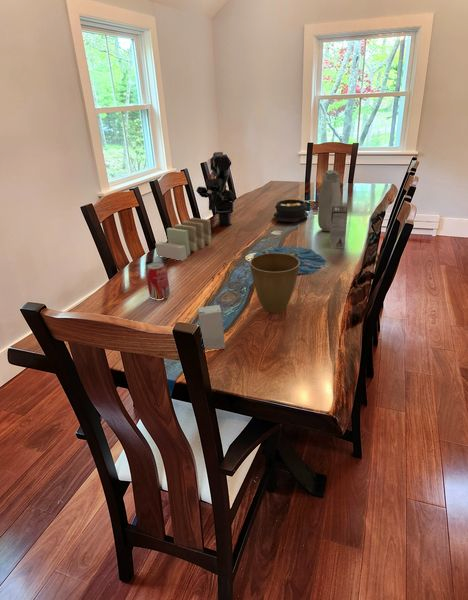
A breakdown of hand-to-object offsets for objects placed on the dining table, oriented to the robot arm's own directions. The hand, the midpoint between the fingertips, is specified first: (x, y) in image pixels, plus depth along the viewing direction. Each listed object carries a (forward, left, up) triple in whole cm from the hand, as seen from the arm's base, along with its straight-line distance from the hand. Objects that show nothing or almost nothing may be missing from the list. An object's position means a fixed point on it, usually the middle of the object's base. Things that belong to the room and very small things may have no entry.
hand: (209, 209), depth 188 cm
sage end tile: (+17, -18, -13) cm, 28 cm away
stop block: (+21, -21, -13) cm, 33 cm away
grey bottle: (+12, +55, -13) cm, 58 cm away
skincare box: (+94, -17, -13) cm, 96 cm away
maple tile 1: (+6, -6, -13) cm, 16 cm away
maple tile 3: (+13, -14, -13) cm, 23 cm away
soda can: (+58, -29, -13) cm, 66 cm away
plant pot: (+78, +6, -13) cm, 79 cm away
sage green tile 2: (+10, -10, -13) cm, 19 cm away
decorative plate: (+42, +24, -14) cm, 50 cm away
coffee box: (+32, +50, -14) cm, 61 cm away
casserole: (-15, +46, -14) cm, 50 cm away
